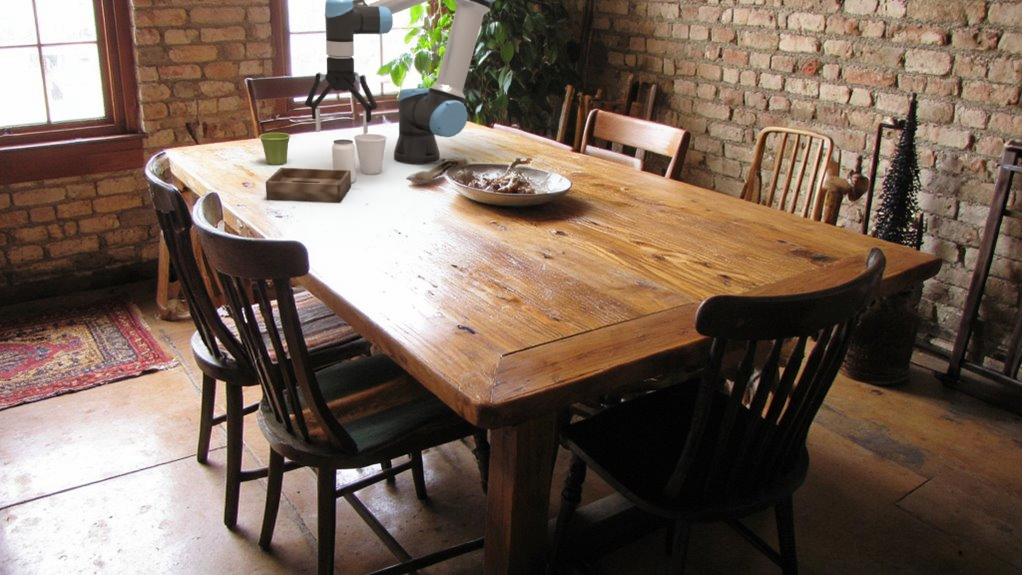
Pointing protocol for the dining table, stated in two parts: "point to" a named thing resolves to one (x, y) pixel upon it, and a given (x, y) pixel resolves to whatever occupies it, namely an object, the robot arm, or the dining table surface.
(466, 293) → the dining table surface
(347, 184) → the walled box
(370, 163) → the cup
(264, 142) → the plant pot
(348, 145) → the can
